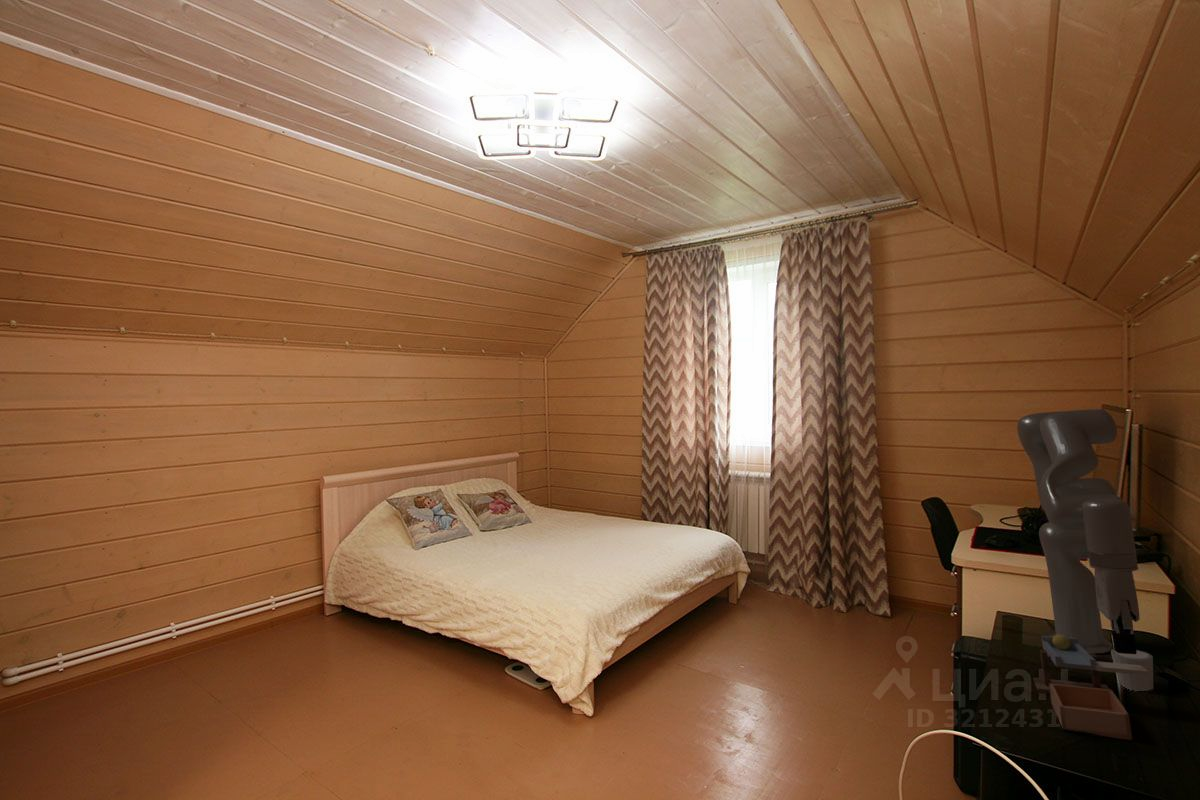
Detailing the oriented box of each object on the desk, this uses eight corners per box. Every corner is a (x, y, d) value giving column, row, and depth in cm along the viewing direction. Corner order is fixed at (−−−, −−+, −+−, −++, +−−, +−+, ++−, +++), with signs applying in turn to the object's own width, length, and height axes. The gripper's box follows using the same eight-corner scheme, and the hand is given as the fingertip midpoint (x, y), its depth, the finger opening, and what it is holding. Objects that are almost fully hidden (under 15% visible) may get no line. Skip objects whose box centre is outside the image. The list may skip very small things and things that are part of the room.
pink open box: (1051, 705, 123) (1048, 683, 123) (1114, 712, 118) (1111, 689, 118) (1062, 731, 113) (1059, 707, 113) (1132, 740, 108) (1129, 715, 108)
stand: (1033, 681, 134) (1029, 645, 134) (1107, 688, 128) (1102, 651, 128) (1038, 692, 129) (1033, 654, 129) (1115, 700, 122) (1109, 661, 123)
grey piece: (1042, 652, 138) (1040, 635, 138) (1125, 659, 131) (1122, 641, 131) (1056, 670, 123) (1053, 651, 123) (1149, 679, 116) (1146, 659, 116)
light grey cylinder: (1165, 693, 124) (1161, 659, 124) (1128, 693, 125) (1123, 659, 125) (1143, 679, 130) (1138, 647, 131) (1107, 679, 132) (1103, 647, 132)
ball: (1053, 650, 136) (1050, 635, 137) (1070, 651, 134) (1067, 636, 136) (1054, 647, 133) (1051, 632, 135) (1072, 648, 132) (1069, 633, 133)
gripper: (1080, 552, 129) (1092, 638, 128) (1098, 567, 116) (1112, 663, 114) (1125, 553, 125) (1137, 642, 124) (1149, 569, 112) (1163, 668, 111)
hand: (1125, 652), depth 119 cm, fingers closed
